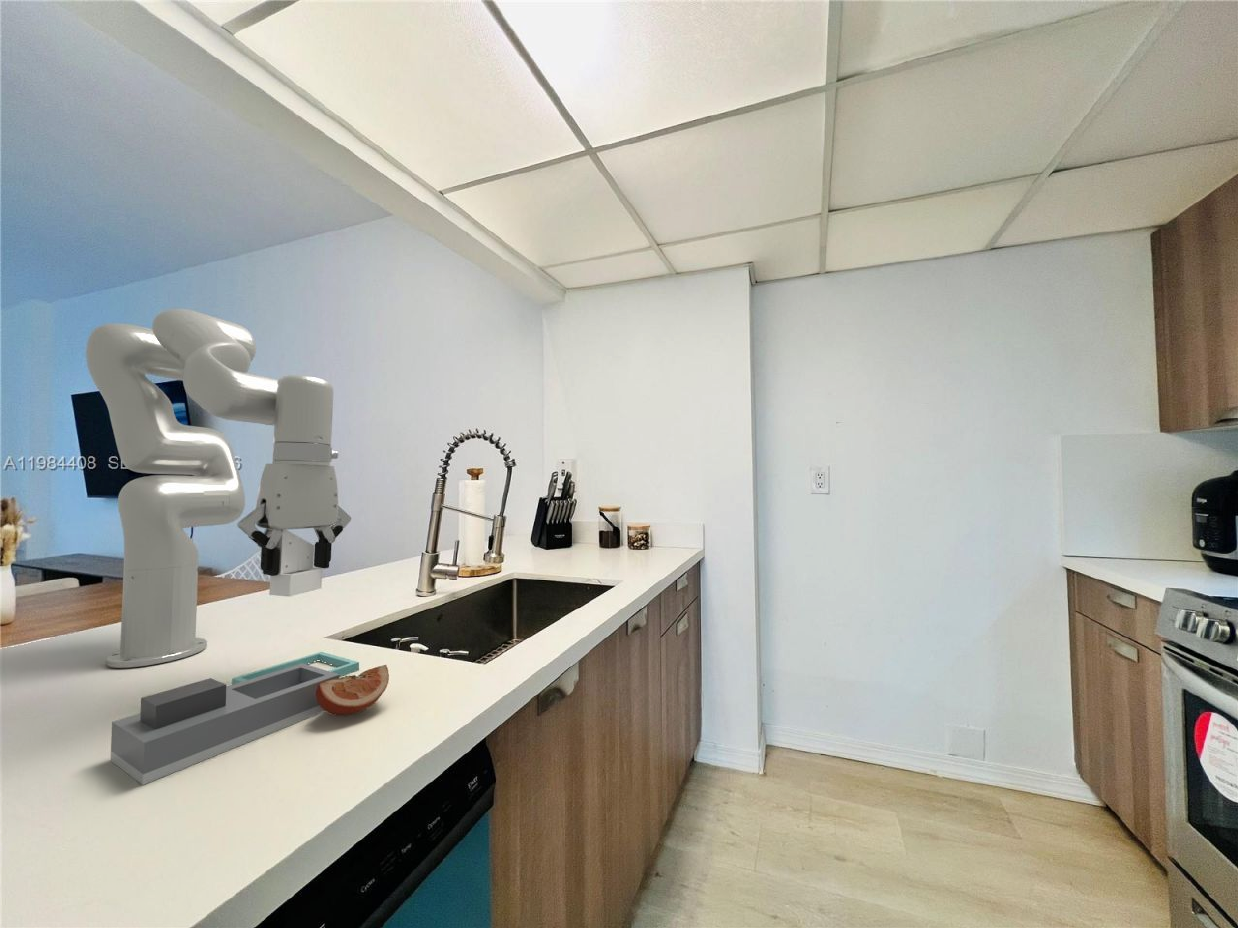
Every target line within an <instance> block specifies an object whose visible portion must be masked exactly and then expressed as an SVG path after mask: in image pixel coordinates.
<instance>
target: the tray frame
mask: <svg viewBox="0 0 1238 928" xmlns="http://www.w3.org/2000/svg"><path fill="white" fill-rule="evenodd" d="M317 660H320V661H323V662H326V663H325V664H327V663H329V664H328V665H330V664H332V665H331V666H333V665H335V668H331V669H329V670H328V671H330V672H333V673H336V674H339V675H340V677H344V676H347V675H349V674H351V673H354V672H357V671H359V670H360V662H359V661H356V660H354V659H353V660H352V659H350V658H349V659H348V658H345V657H341V656H338V655H335V654H330V653H328V652H327V653H326V652H324V651H319V652H316V653H312V654H309V655H306V656H302V657H299V658H296V659H291V660H289V661H286V662H282V663H279V664H275V665H272V666H269V667H266V668H262V669H259V670H258V669H257V670H256V671H252V672H248V673H246V674H242V675H238V676H235V677H232V678H231V685H233V684H237V683H240V682H243V681H246V680H250V679H253V678H256V677H259V676H263V675H266V674H269V673H272V672H276V671H279V670H282V669H285V668H289V667H292V666H295V665H298V664H302V663H304V664H308V663H311V662H314V661H317ZM320 661H319V662H320ZM323 662H322V663H323ZM308 665H309V664H308ZM337 666H338V667H337Z"/></svg>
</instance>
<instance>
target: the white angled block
mask: <svg viewBox="0 0 1238 928" xmlns="http://www.w3.org/2000/svg"><path fill="white" fill-rule="evenodd" d="M276 548H279V549H280V562H279V574H278V575H276V576H270V575H269V591H268V592H269V593H268V595H269V596H276V597H293V596H298V595H302V594H306V593H308V592H313V591H316V590H320V589H322V585H323V568H318V567H314V550H315V544H312V543H310V542H308V541H307V540H305V539H303V538H301V537H300V536H298V535H296V534H294V533H292V532H291V531H289V530H284V532H283V534H282V535H281V537H280V539H279V541H278V543H277V545H276Z"/></svg>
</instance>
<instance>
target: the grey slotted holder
mask: <svg viewBox="0 0 1238 928" xmlns="http://www.w3.org/2000/svg"><path fill="white" fill-rule="evenodd" d="M339 678H341V676H340V675H339V674H336V673H333V672H330V671H329V670H325V669H323V668H319V667H316V666H312V665H311V664H308V665H307V664H304V663H302V664H298V665H295V666H292V667H289V668H285V669H282V670H279V671H276V672H272V673H269V674H266V675H263V676H259V677H256V678H253V679H250V680H246V681H243V682H240V683H237V684H233V685H232V684H229V685H227V684H226V683H223V682H221V681H218V680H217V679H214V678H211V677H210V678H206V679H203V680H199V681H195V682H192V683H188V684H185V685H182V686H178V687H175V688H172V689H167V690H165V691H161V692H158V693H157V692H156V693H154V694H150V695H147V696H143V697H141V698H140V712H139V713H137V714H133V715H129V716H127V717H123V718H120V719H117V720H114V721H112V722H111V736H110V737H111V738H110V740H111V741H110V743H111V744H110V761H111V762H112V763H114V765H116V766H117V767H119V768H120V769H121V770H122V771H124V772H125V773H126V774H128V776H130V777H132V778H133V779H134V780H136V782H138V783H139V784H141V785H142V786H144V785H146V784H148V783H151V782H154V781H157V780H159V779H161V778H164V777H166V776H169V775H171V774H173V773H176V772H179V771H181V770H183V769H186V768H188V767H192V766H193V765H195V764H199V763H201V762H203V761H206V760H208V759H211V758H213V757H215V756H218V755H220V754H222V753H225V752H228V751H230V750H232V749H235V748H238V747H239V746H243V745H244V744H248V743H250V742H253V741H254V740H258V739H259V738H262V737H264V736H267V735H269V734H272V733H275V732H277V731H279V730H282V729H284V728H286V727H289V726H292V725H294V724H297V723H299V722H301V721H304V720H307V719H308V718H312V717H313V716H316V715H318V714H321V713H324V712H326V711H325V710H324V709H323V708H321V706H320V705H319V703H318V701H317V698H316V689H317V687H318V685H319V684H320V683H323V682H325V681H329V680H333V679H339Z"/></svg>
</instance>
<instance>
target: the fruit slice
mask: <svg viewBox="0 0 1238 928" xmlns="http://www.w3.org/2000/svg"><path fill="white" fill-rule="evenodd" d="M389 677H390V675H389V668H388V667H387V664H383V665H379V666H376V667H373V668H369V669H367V670H364V671H362V672H361V673H360V674H358V675H357V676H356V675H355V674H353V675H344V676H340V677H339V679H333V680H329V681H325V682H323V683H320V684H319V685H318V687H317V689H316V698H317V701H318V703H319V705H320V706H321V708H323V709H324V710H325V711H324V712H326V713H328V714H331V715H333V716H339V717H341V716H342V717H343V716H345V717H346V716H351V715H355V714H357V713H361V712H362V711H366V709H368V708H370V707H372V706H374V704H375V703H377V702H378V700H379V699H380V698H381V696H382V695H383V694H384V693H385V691H386V690H387V687H388V684H389V679H390V678H389Z"/></svg>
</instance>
